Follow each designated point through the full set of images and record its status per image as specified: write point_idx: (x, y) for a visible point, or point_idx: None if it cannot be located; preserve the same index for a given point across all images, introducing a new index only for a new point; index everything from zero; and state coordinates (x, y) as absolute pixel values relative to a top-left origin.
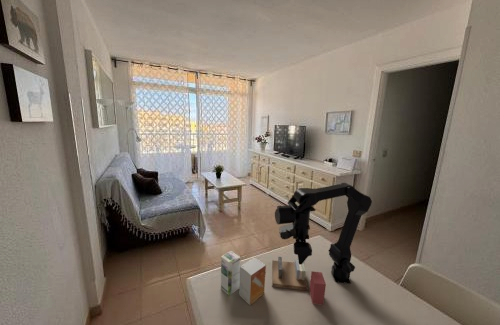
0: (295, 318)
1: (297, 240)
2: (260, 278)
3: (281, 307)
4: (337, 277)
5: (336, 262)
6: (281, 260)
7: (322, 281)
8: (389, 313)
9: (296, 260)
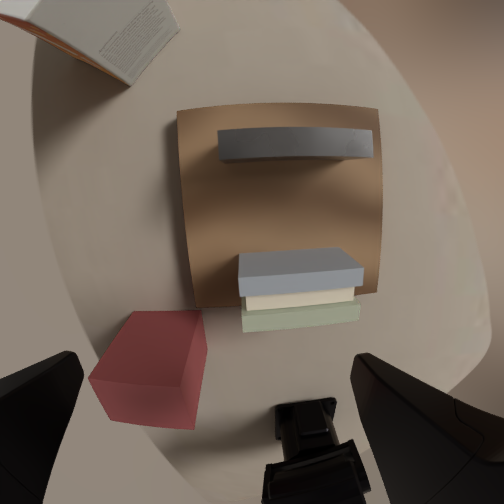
0: (55, 238)
1: (424, 451)
2: (46, 38)
3: (78, 178)
4: (289, 419)
5: (282, 481)
6: (332, 152)
7: (121, 414)
8: (190, 468)
9: (349, 276)
